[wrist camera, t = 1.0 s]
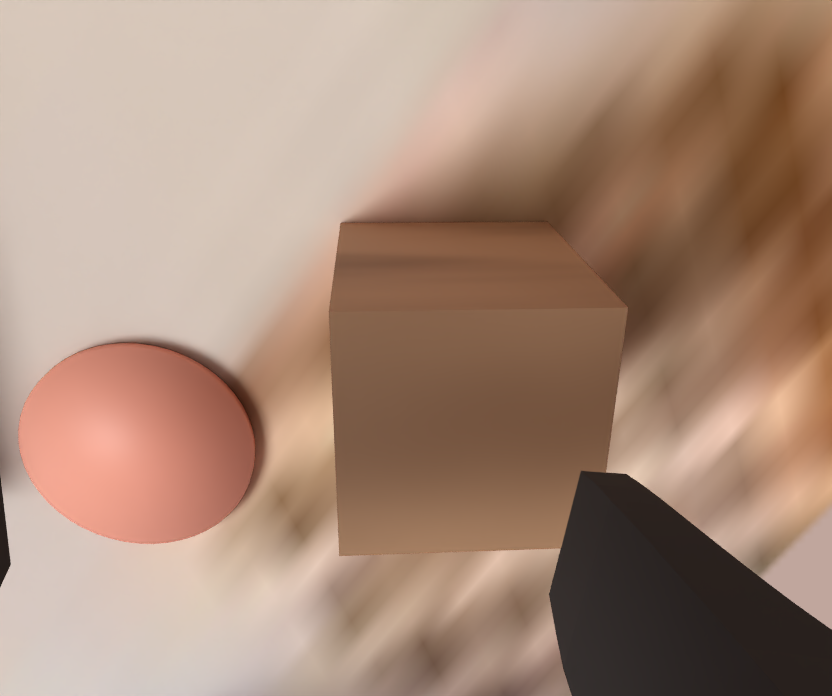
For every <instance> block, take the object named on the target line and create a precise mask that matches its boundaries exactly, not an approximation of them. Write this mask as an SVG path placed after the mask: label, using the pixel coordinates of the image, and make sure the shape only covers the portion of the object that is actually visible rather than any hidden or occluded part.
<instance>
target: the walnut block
mask: <svg viewBox="0 0 832 696" xmlns="http://www.w3.org/2000/svg"><path fill="white" fill-rule="evenodd" d="M627 313H628V307H627V306H626V305H625V304H624V303H623V302H622V301H621V300H620V298H619V297H618V296H617V295H616V294H615V293H614V292H613V291H612V290H611V289H610V288H609V287H608V286H607V285H606V284H605V282H604V281H603V280H602V279H601V278H600V277H599V276H598V275H597V274H596V273H595V272H594V271H593V270H592V269H591V268H590V267H589V265H588V264H587V263H586V262H585V261H584V260H583V259H582V258H581V257H580V256H579V255H578V254H577V253H576V252H575V251H574V249H573V248H572V247H571V246H570V245H569V244H568V243H567V242H566V241H565V240H564V239H563V238H562V237H561V236H560V235H559V234H558V232H557V231H556V230H555V229H554V228H553V227H552V226H551V225H550V224H549V223H548V222H406V223H341V224H340V232H339V240H338V247H337V255H336V262H335V270H334V277H333V285H332V292H331V300H330V307H329V326H330V349H331V373H332V396H333V419H334V443H335V466H336V489H337V512H338V536H339V556H352V555H381V554H410V553H438V552H467V551H496V550H524V549H553V548H561V546H562V542H563V539H564V535H565V531H566V527H567V523H568V519H569V515H570V511H571V507H572V504H573V500H574V496H575V492H576V488H577V484H578V480H579V476H580V472H581V471H591V472H604V473H606V468H607V460H608V453H609V446H610V438H611V431H612V423H613V416H614V409H615V401H616V394H617V387H618V379H619V372H620V364H621V357H622V350H623V342H624V335H625V327H626V320H627Z"/></svg>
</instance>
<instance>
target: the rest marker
mask: <svg viewBox="0 0 832 696" xmlns="http://www.w3.org/2000/svg"><path fill="white" fill-rule="evenodd" d="M18 436H19V448H20V454H21V457H22V460H23V463H24V466H25V469H26V471H27V473H28V475H29V477H30V479H31V481H32V482H33V484H34V485H35V487H36V488H37V490H38V491H39V492H40V494H41V495H42V496H43V497H44V498H45V499H46V501H47V502H48V503H49V504H50V505H52V506H53V507H54V508H55V509H56V510H57V511H58V512H59V513H61V514H62V515H63V516H65V517H66V518H68V519H69V520H70V521H72V522H74V523H76V524H77V525H79V526H81V527H82V528H85V529H87V530H89V531H91V532H93V533H96V534H98V535H101V536H104V537H108V538H111V539H115V540H119V541H124V542H131V543H140V544H157V543H168V542H173V541H178V540H183V539H186V538H189V537H192V536H195V535H197V534H200V533H202V532H204V531H206V530H208V529H210V528H211V527H213V526H215V525H216V524H218V523H219V522H220V521H222V520H223V519H224V518H225V517H227V516H228V515H229V514H230V513H231V511H232V510H233V509H234V508H235V507H236V506H237V505H238V503H239V502H240V500H241V499H242V497H243V496H244V494H245V491H246V489H247V487H248V485H249V482H250V479H251V475H252V472H253V468H254V461H255V440H254V434H253V429H252V426H251V423H250V420H249V418H248V415H247V413H246V411H245V409H244V407H243V405H242V404H241V402H240V401H239V400H238V398H237V397H236V395H235V394H234V393H233V391H232V390H231V389H230V388H229V387H228V386H227V385H226V383H225V382H223V381H222V380H221V379H220V378H219V377H218V376H217V375H216V374H214V373H213V372H212V371H210V370H209V369H207V368H206V367H205V366H203V365H202V364H200V363H198V362H196V361H194V360H193V359H191V358H189V357H187V356H184V355H182V354H179V353H177V352H174V351H172V350H168V349H165V348H161V347H157V346H152V345H146V344H137V343H117V344H107V345H102V346H97V347H92V348H89V349H86V350H83V351H80V352H78V353H76V354H74V355H72V356H70V357H68V358H66V359H64V360H63V361H61V362H60V363H59V364H57V365H56V366H54V367H53V368H52V369H51V370H50V371H49V372H48V373H47V374H46V375H45V376H44V377H43V378H42V379H41V380H40V381H39V382H38V383H37V385H36V386H35V387H34V389H33V390H32V391H31V393H30V395H29V396H28V398H27V400H26V402H25V404H24V407H23V410H22V413H21V416H20V422H19V429H18Z"/></svg>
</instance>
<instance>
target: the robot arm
mask: <svg viewBox="0 0 832 696" xmlns="http://www.w3.org/2000/svg"><path fill="white" fill-rule="evenodd" d="M10 565H11V563H10V555H9V546H8V538H7V529H6V521H5V512H4V504H3V495H2V487H1V478H0V586H1V584H2V582H3V580H4V578H5V575H6V573H7V571H8V569H9V567H10ZM549 596H550V602H551V607H552V613H553V619H554V624H555V630H556V635H557V640H558V645H559V650H560V655H561V659H562V664H563V669H564V672H565V675H566V678H567V682H568V685H569V688H570V691H571V694H572V696H832V630H831V629H830V628H828V627H827V626H825V625H824V624H822V623H821V622H820V621H818V620H817V619H816V618H814V617H813V616H811V615H810V614H809V613H807V612H806V611H804V610H803V609H802V608H800V607H799V606H797V605H796V604H795V603H793V602H792V601H791V600H789V599H788V598H787V597H785V596H784V595H782V594H781V593H780V592H779V591H777V590H776V589H775V588H773V587H772V586H770V585H769V584H768V583H767V582H765V581H764V580H763V579H762V578H760V577H759V576H758V575H756V574H755V573H754V572H752V571H751V570H750V569H749V568H747V567H746V566H745V565H743V564H742V563H741V562H740V561H738V560H737V559H736V558H734V557H733V556H732V555H731V554H729V553H728V552H727V551H726V550H724V549H723V548H722V547H721V546H719V545H718V544H717V543H715V542H714V541H713V540H712V539H710V538H709V537H708V536H707V535H705V534H704V533H703V532H702V531H700V530H699V529H698V528H697V527H695V526H694V525H693V524H692V523H690V522H689V521H688V520H687V519H685V518H684V517H683V516H682V515H680V514H679V513H678V512H677V511H675V510H674V509H673V508H672V507H670V506H669V505H668V504H667V503H665V502H664V501H663V500H661V499H660V498H659V497H658V496H656V495H655V494H654V493H652V492H651V491H650V490H648V489H647V488H646V487H644V486H643V485H642V484H640V483H639V482H637V481H636V480H634V479H633V478H631V477H630V476H628V475H627V474H617V473H604V472H591V471H581V472H580V476H579V480H578V484H577V488H576V492H575V496H574V500H573V504H572V507H571V511H570V515H569V519H568V523H567V527H566V531H565V535H564V539H563V542H562V546H561V550H560V554H559V558H558V562H557V566H556V570H555V574H554V577H553V581H552V585H551V589H550V593H549Z"/></svg>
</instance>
